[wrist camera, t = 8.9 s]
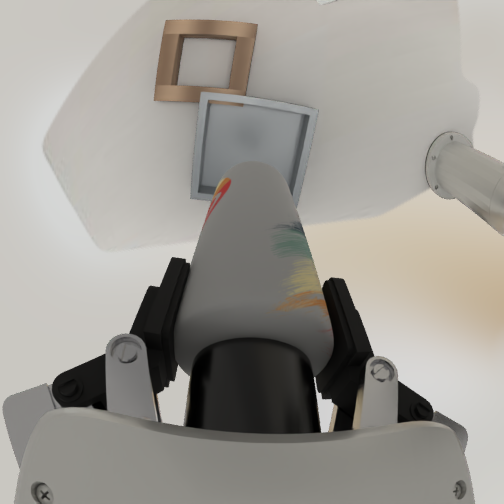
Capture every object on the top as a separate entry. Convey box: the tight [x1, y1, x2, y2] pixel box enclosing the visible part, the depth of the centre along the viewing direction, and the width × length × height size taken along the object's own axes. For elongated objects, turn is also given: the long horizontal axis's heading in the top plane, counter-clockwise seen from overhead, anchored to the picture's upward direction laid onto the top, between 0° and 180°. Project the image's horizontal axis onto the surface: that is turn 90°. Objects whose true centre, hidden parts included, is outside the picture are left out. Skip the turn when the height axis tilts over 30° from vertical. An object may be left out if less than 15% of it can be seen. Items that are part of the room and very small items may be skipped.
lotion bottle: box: [174, 161, 334, 434], centre depth 13 cm, size 6×6×20 cm
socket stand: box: [154, 20, 258, 107], centre depth 29 cm, size 12×12×3 cm
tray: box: [190, 92, 319, 209], centre depth 36 cm, size 15×15×4 cm
